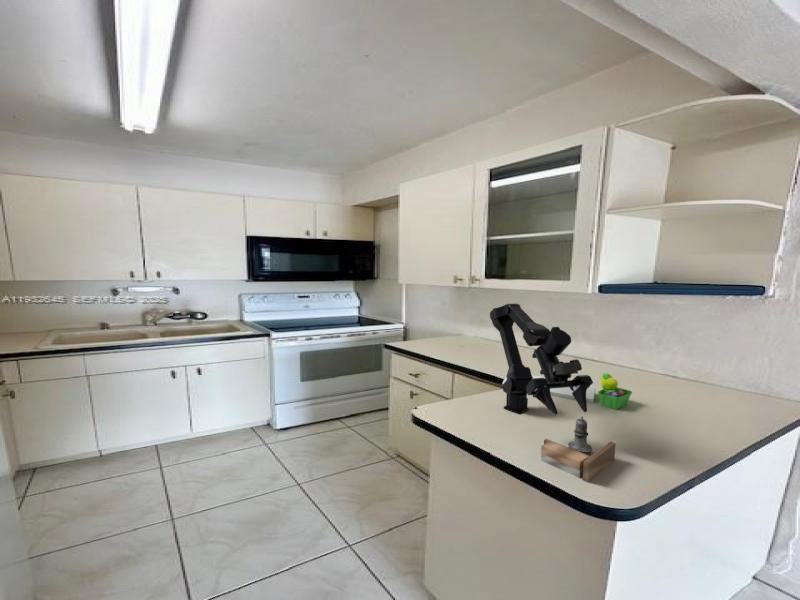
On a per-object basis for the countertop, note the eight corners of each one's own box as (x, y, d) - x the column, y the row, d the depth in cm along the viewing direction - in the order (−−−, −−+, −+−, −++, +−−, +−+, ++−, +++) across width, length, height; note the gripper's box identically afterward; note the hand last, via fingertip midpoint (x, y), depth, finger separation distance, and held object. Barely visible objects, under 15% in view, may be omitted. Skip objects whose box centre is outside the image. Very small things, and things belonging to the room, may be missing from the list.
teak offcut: (541, 453, 98) (541, 445, 98) (549, 448, 100) (549, 441, 100) (579, 470, 90) (579, 462, 90) (587, 464, 92) (587, 456, 92)
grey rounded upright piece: (570, 463, 99) (573, 419, 98) (565, 452, 105) (567, 410, 103) (594, 465, 98) (597, 421, 97) (587, 454, 104) (590, 412, 102)
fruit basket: (617, 411, 133) (619, 381, 131) (592, 404, 140) (594, 374, 139) (632, 404, 139) (634, 375, 138) (607, 397, 146) (609, 369, 145)
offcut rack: (534, 463, 99) (535, 441, 98) (563, 444, 109) (564, 425, 108) (587, 487, 89) (588, 463, 88) (613, 464, 98) (615, 443, 98)
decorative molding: (592, 410, 142) (594, 395, 150) (593, 399, 140) (595, 385, 148) (502, 393, 159) (508, 380, 167) (502, 383, 157) (508, 371, 165)
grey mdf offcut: (541, 460, 98) (541, 453, 98) (549, 455, 100) (549, 448, 100) (579, 478, 90) (579, 470, 90) (587, 472, 93) (587, 464, 93)
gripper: (532, 351, 106) (554, 403, 96) (590, 348, 110) (617, 398, 100) (517, 370, 114) (536, 420, 105) (571, 367, 118) (594, 414, 109)
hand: (571, 413), depth 104 cm, fingers open, 9 cm apart
